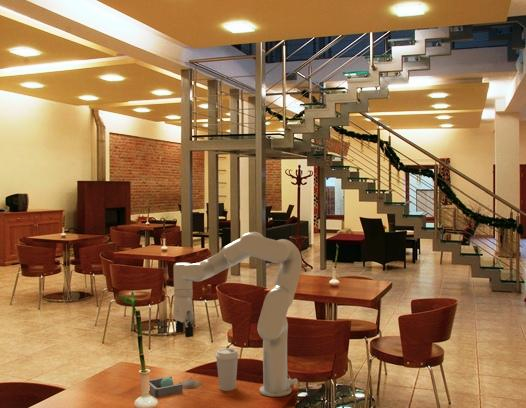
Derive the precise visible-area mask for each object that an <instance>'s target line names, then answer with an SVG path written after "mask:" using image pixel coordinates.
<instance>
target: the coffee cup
mask: <svg viewBox="0 0 526 408" xmlns="http://www.w3.org/2000/svg"><path fill="white" fill-rule="evenodd" d="M239 357H240V355H239V352H238V350H237V349H235V348H231V347H230V348H229V347H228V348H221V349H218V350H216V353H215V355H214V358H216V367H217V376H218V377H217V378H218V386H219V387H218V388H219V390H220V391H222V390H223V392H230V390H231V391H234V390H235V389H237V387H236V386H237V385H236V384H237V372H238V359H239ZM233 389H234V390H233Z"/></svg>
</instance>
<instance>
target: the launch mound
mask: <svg viewBox="0 0 526 408" xmlns="http://www.w3.org/2000/svg"><path fill="white" fill-rule="evenodd" d="M179 384H182V390H183V389H184V390H193V389H199V388H200V386H201V385H202V386H203V383H202V381H199V380H197V379H192V378H189V379H185V380H183V381H181V382H180V383H179ZM202 386H201V387H202ZM198 387H199V388H198Z"/></svg>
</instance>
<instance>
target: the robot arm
mask: <svg viewBox="0 0 526 408" xmlns="http://www.w3.org/2000/svg"><path fill="white" fill-rule="evenodd" d="M251 257H253V258H257V259H260V260H263V261H266V262H270V263H274V264H280V265H279V269H278V271H277V274H276V279H275V281H274V285H273V287H272V289H270V290H269V291H268V292H267V294H266V296H265V298H264V300H263V305H262V307H261V311H260V315H259V318H258V321H257V327H256V328H257V333H258V335H259V337H260V338H261V340H262V372H263V373H262V377H263V383H262V385H261V386H260V387H259V393H260V394H261V395H263V396H266V397H272V398H274V397H275V398H277V397H278V398H279V397H285V396H288V395H290V394H291V393H292V387H291V386H292V385H296V384H298V383H299V380H298V379H297V378H291V377H290V378H288V329H289V325H288V324H289V323H288V318H287V314H288V311H289V308H290V307H291V306H292V305H293V303H294V298H295V294H296V290H297V287H298V285H299V284H298V283H299V280H300V276H301V271H302V267H303V266H302V260H303V259H302V255H301V252H300V250H299V248H298V247H297V246H296V244H294V243H293V242H292V241H290V240H288V239H284V238H281V239H277V240H276V239H272V238H270V237H269V238H268V237H265V236H264V235H263V234H262V233H260V232H258V231H251V232H247V233H244V234H243V235H242V236H241V237H240V238H237V239H235V240H234V241H232V242H230V243H228V244H227V245H225V246H223V247H222V248H221V250H220V251H219V252H217V253H215V254H214V255H212V256H210V257H208V258H207V259H204V260H201V261H199V262H195V263H191V262H185V261H183V262H176V263H174V264H173V297H174V299H173V319H174V320H175V321H174V322H175V333H176V334H179V333H183V332H184V335H185V336H184V337H185V338H191V337H192V338H193V337H194V321H195V317H194V307H193V298H192V297H193V294H194V292H193V291H194V289H193V282H202V281H204V280H207V279H210V278H212V277H213V276H215V275H217V274H219V273H221V272H223V271H225V270H227V269H229V268H232V267H234V266H235V265H238V264H239V263H241V262H244V261H245V260H247V259H249V258H251ZM184 325H185V327H184Z"/></svg>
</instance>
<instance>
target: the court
mask: <svg viewBox="0 0 526 408" xmlns="http://www.w3.org/2000/svg"><path fill="white" fill-rule="evenodd" d="M165 377H166V376H165ZM165 377H159V378H154V379H153V378H152V379H148V380H149V385H150V392H149V393H150V394H151V395H152V396H154V397H155V398H160V397H165V396H169V395H174V394H179V393H183V389H182V384H180V383H178V384H173V385H172V386H167V387H161V381H162V379H163V378H165ZM168 377H170V378H171V379H172V380H173V377H172V376H170V375H169V376H168Z"/></svg>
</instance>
